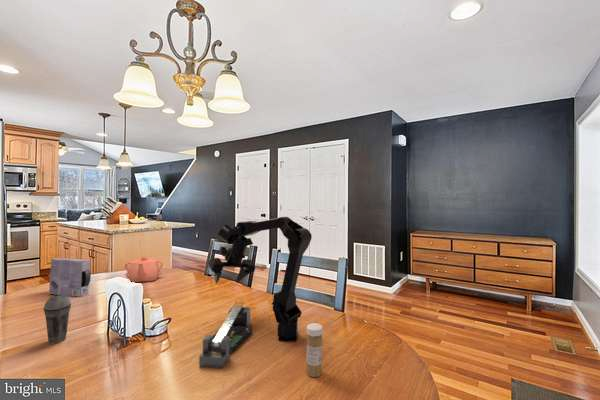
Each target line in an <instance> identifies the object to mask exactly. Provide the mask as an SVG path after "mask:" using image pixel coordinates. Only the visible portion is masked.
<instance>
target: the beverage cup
mask: <svg viewBox="0 0 600 400" xmlns="http://www.w3.org/2000/svg"><path fill="white" fill-rule="evenodd" d="M60 283H61V281H59V286H58V295H52V296H50V297H49V298H48V299H47V300H46V302H45V303H44V306H43V312H44V316H45V322H46V331H47V333H46V334H47V340H48V344H49V343H55V344H59V343H58V342H60V343H62V342H64V341H66V339H67V335H68V334H67V333H68V325H69V317H70V312H71V306H72V303H71V300H70V298H69V296H65V295H62V294H60ZM61 341H62V342H61Z"/></svg>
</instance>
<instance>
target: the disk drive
mask: <svg viewBox="0 0 600 400" xmlns="http://www.w3.org/2000/svg"><path fill="white" fill-rule="evenodd" d="M217 333H218V331H217V332H215V334H213V335H212V341H213V340H214V338H215V337H216V335H217ZM252 334H253V328H252V327H243V326H236V327H235V326H233V325H232V326H231V328H230V330H229V332H228V334H227V336H230V341H229V355H232V354H233V353H234V352H235V351H237V349H239V347H240V346H242V344H243V343H244V342H245V341H246V340H247V339H249V337H250V336H252ZM213 351H214V352H217V353H221V348H218V347H212V352H213Z"/></svg>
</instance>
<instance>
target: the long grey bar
mask: <svg viewBox="0 0 600 400" xmlns="http://www.w3.org/2000/svg"><path fill="white" fill-rule="evenodd" d="M244 304H245V302H244V301H234V304H233V306H232V307H233V308H232V307H231V308H232V310H231V311H230V313H229V315H227V316H226V319H225V320H224V321H223V324H222V325H221V326H220V328H219V330H218V331H217V332H218V333H217V332H216V333H217V335H216V337H215V338H214V340H213V341H212V342H211V347H218V348H221V340H222V339H223V337H224V336H227V334H228V332H229V330H230V328H231V326H232V324H233V323H234V321H235V319H236V317H237V315H238V313H239V311H240V310H241V308H242V307H244Z"/></svg>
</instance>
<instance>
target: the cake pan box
mask: <svg viewBox="0 0 600 400" xmlns="http://www.w3.org/2000/svg"><path fill="white" fill-rule="evenodd" d="M90 264H91V261H90V259H78V258H77V259H75V258H63V257H56V258H51V261H50V274H49V277H50V278H49V289H48V291H49V292H48V295H50V294H54V295H58V286H59V281H61V283H60V294H62V295H65V296H67V297H75V296H77V298H82V297H85V296H88V295H89V287H90V286H89V285H90V282H91V279H92V278H91V277H92V276H91V271H90V269H91V268H90V266H91V265H90ZM87 294H88V295H87ZM54 295H53V296H54ZM84 295H85V296H84Z"/></svg>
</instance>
